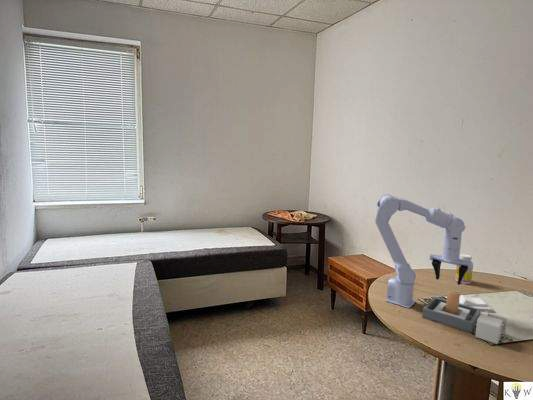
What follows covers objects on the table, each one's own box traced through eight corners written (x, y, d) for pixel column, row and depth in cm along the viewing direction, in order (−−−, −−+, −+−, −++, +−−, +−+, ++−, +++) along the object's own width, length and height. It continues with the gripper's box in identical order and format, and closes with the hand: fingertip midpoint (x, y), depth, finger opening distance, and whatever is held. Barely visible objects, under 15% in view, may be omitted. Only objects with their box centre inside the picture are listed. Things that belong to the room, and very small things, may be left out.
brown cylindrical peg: (443, 316, 127) (446, 293, 125) (446, 313, 130) (449, 290, 128) (455, 320, 124) (458, 296, 123) (458, 316, 127) (461, 293, 126)
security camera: (483, 309, 120) (477, 319, 113) (507, 316, 115) (502, 327, 108) (481, 326, 121) (474, 337, 114) (505, 334, 116) (500, 346, 109)
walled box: (422, 317, 127) (423, 308, 126) (433, 305, 137) (434, 296, 137) (471, 333, 116) (473, 323, 116) (479, 318, 127) (480, 309, 126)
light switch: (449, 291, 145) (482, 292, 142) (449, 300, 145) (482, 301, 143) (458, 302, 134) (495, 303, 132) (458, 312, 135) (494, 313, 132)
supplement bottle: (451, 279, 165) (454, 253, 163) (462, 278, 167) (465, 252, 165) (463, 285, 159) (466, 258, 157) (474, 283, 161) (477, 257, 159)
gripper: (428, 245, 134) (425, 279, 136) (471, 253, 125) (467, 289, 127) (433, 242, 140) (430, 274, 142) (474, 249, 130) (471, 284, 132)
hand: (448, 281), depth 135 cm, fingers open, 7 cm apart
